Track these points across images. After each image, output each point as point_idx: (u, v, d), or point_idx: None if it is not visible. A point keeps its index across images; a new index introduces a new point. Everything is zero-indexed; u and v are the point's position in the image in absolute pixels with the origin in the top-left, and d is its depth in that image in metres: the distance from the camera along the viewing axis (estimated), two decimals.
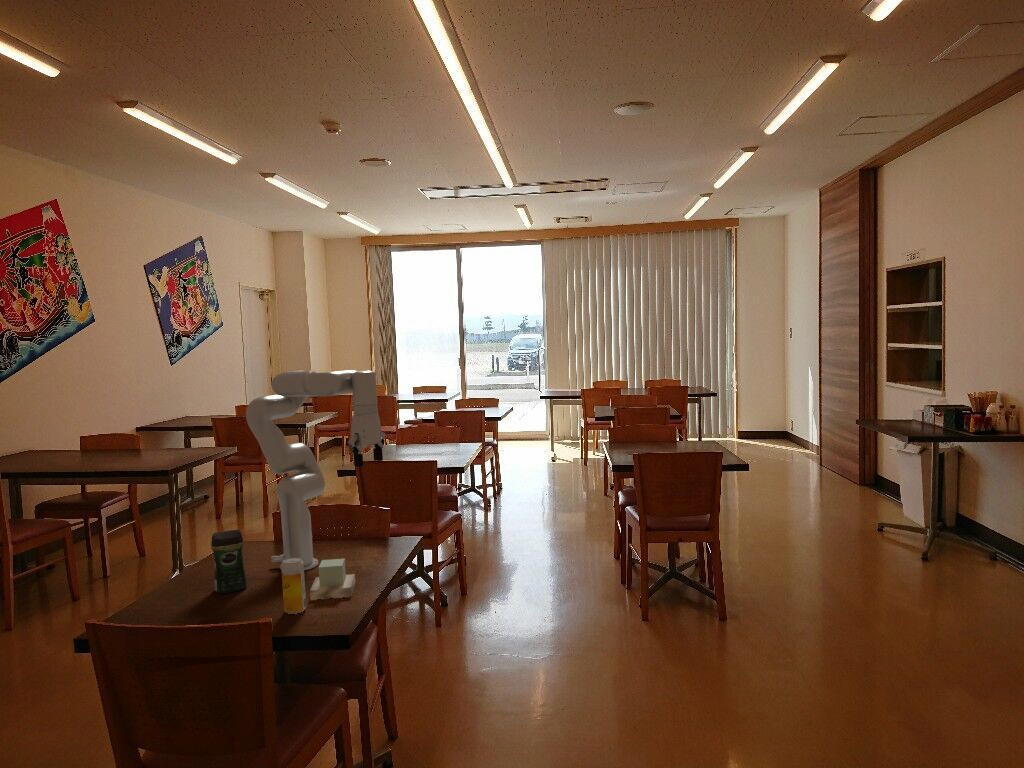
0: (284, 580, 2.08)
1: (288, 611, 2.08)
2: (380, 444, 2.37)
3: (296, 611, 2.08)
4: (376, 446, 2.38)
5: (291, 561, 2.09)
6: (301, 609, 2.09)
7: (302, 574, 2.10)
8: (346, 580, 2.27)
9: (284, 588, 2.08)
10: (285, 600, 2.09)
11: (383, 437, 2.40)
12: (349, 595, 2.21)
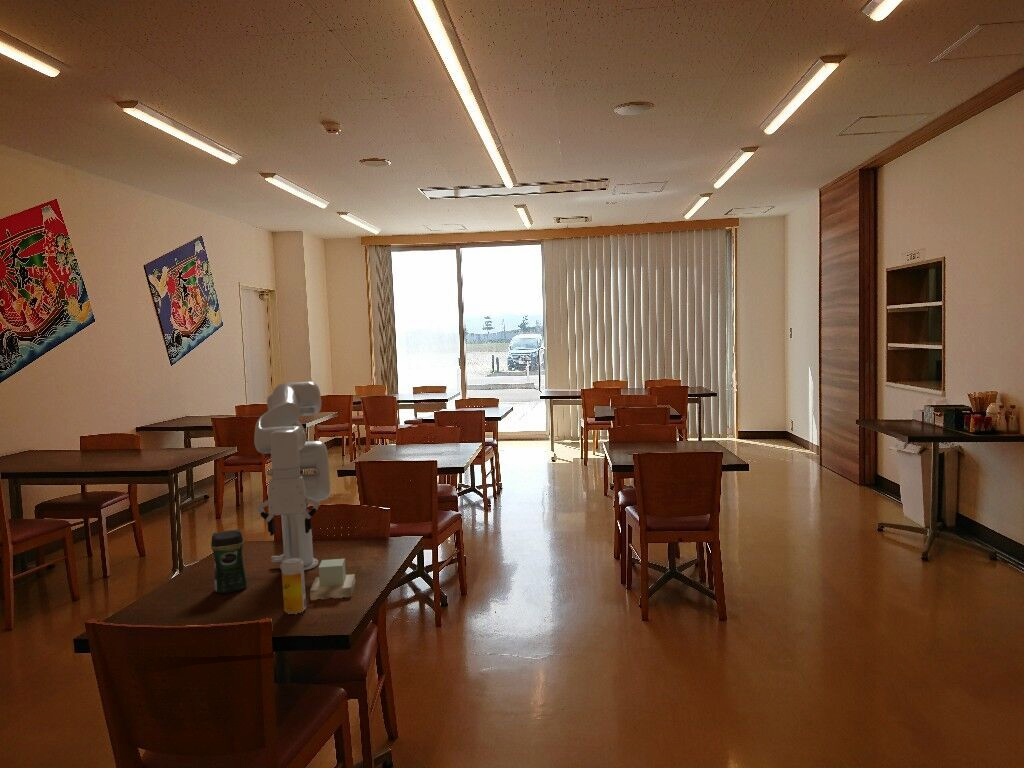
0: (284, 580, 2.08)
1: (288, 611, 2.08)
2: None
3: (296, 611, 2.08)
4: None
5: (291, 561, 2.09)
6: (301, 609, 2.09)
7: (302, 574, 2.10)
8: (346, 580, 2.27)
9: (284, 588, 2.08)
10: (285, 600, 2.09)
11: None
12: (349, 595, 2.21)
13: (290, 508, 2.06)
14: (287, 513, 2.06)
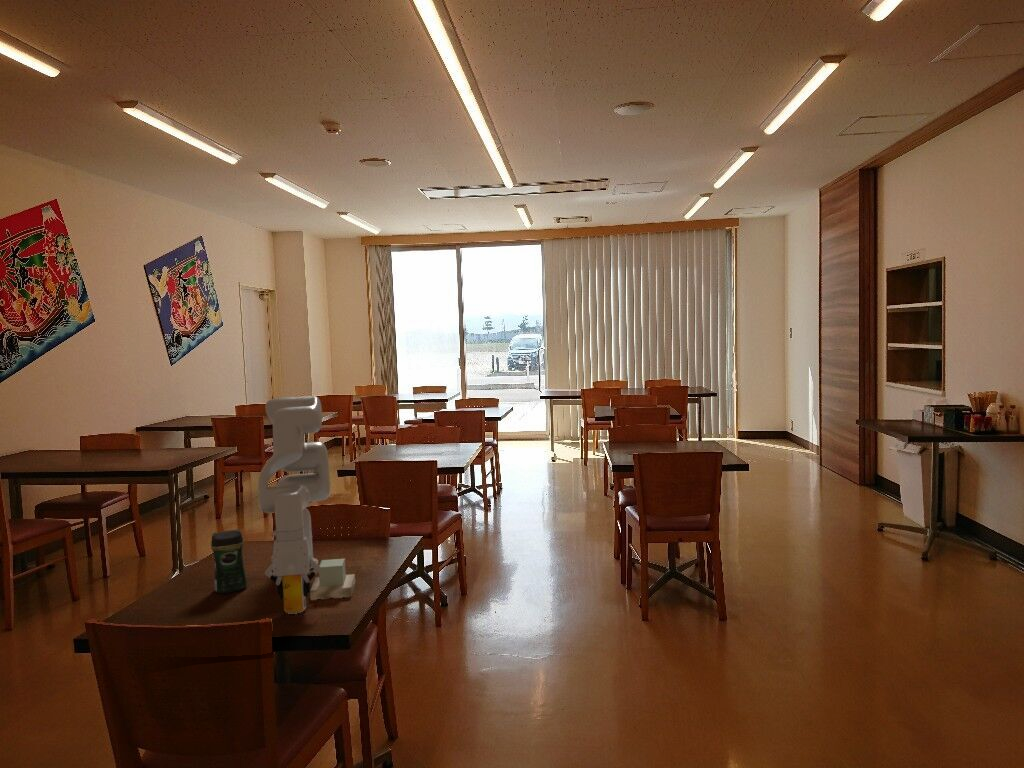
0: (284, 580, 2.08)
1: (288, 611, 2.08)
2: None
3: (296, 611, 2.08)
4: (280, 580, 2.10)
5: None
6: (301, 609, 2.09)
7: None
8: (346, 580, 2.27)
9: (284, 588, 2.08)
10: (285, 600, 2.09)
11: None
12: (349, 595, 2.21)
13: None
14: None
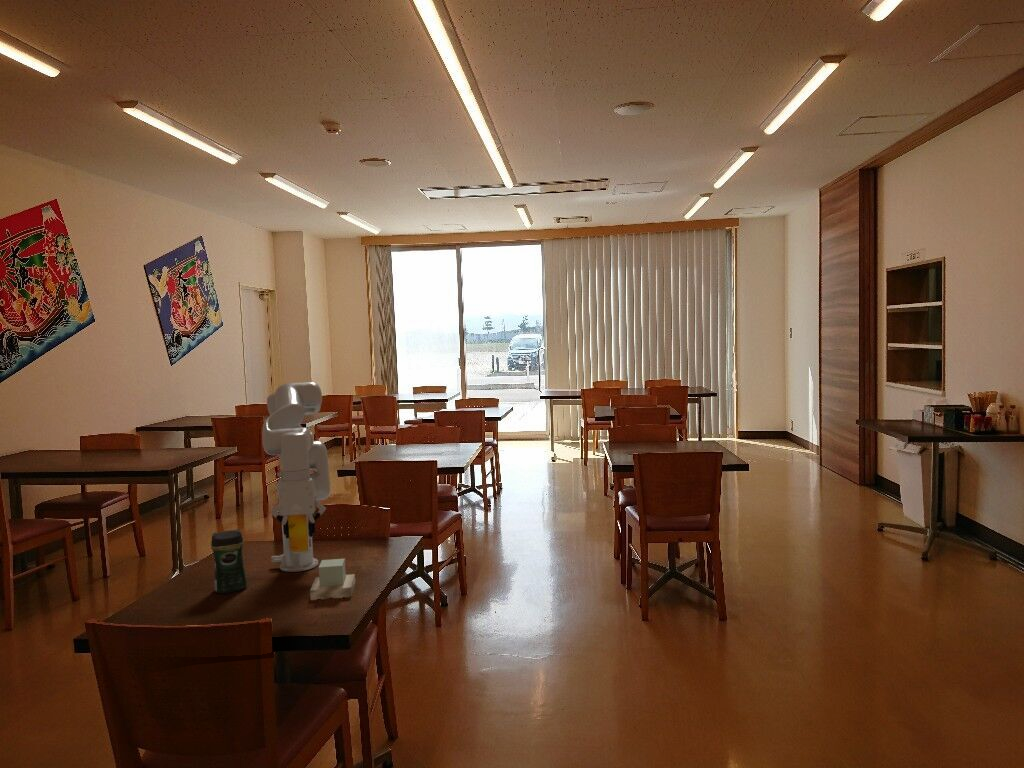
0: (290, 520, 2.10)
1: (293, 550, 2.11)
2: None
3: (301, 550, 2.11)
4: (286, 520, 2.12)
5: None
6: (306, 548, 2.12)
7: None
8: (346, 580, 2.27)
9: (290, 528, 2.11)
10: (290, 540, 2.11)
11: None
12: (349, 595, 2.21)
13: None
14: None
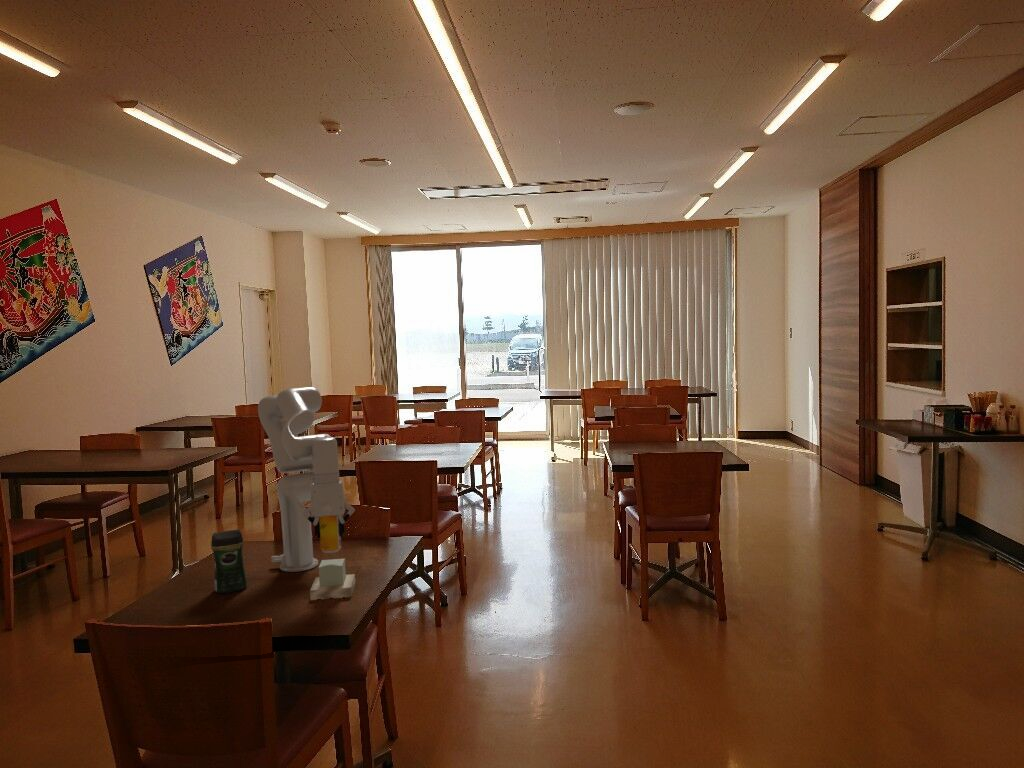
0: (321, 520, 2.22)
1: (325, 550, 2.22)
2: None
3: (332, 550, 2.22)
4: (317, 521, 2.23)
5: None
6: (337, 548, 2.23)
7: None
8: (346, 580, 2.27)
9: (321, 528, 2.22)
10: (322, 540, 2.22)
11: None
12: (349, 595, 2.21)
13: None
14: None
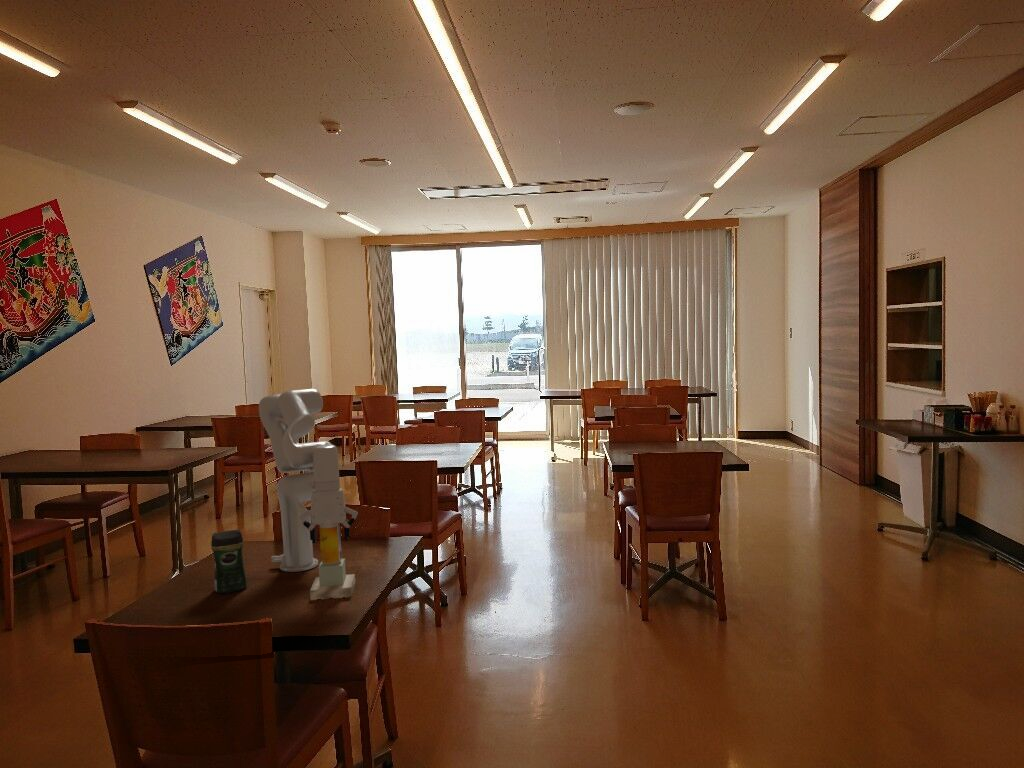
0: (321, 533, 2.22)
1: (325, 562, 2.23)
2: None
3: (333, 562, 2.23)
4: None
5: None
6: (337, 560, 2.23)
7: (338, 527, 2.24)
8: (346, 580, 2.27)
9: (321, 540, 2.23)
10: (322, 552, 2.23)
11: None
12: (349, 595, 2.21)
13: (331, 518, 2.22)
14: None
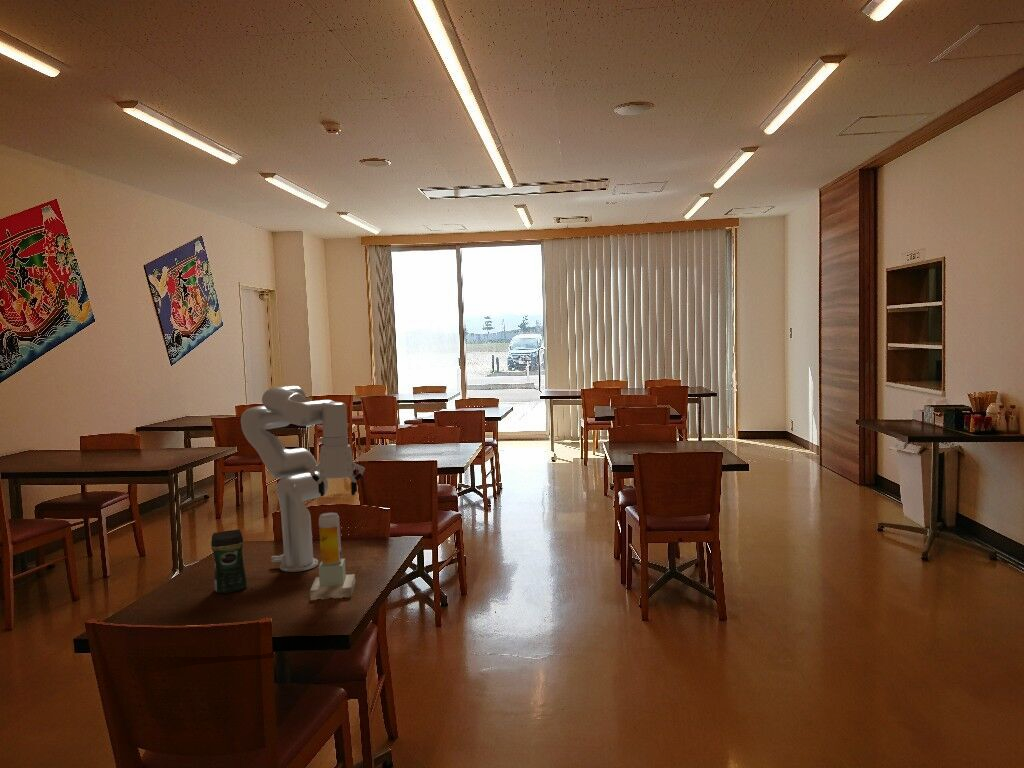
0: (321, 533, 2.22)
1: (325, 562, 2.23)
2: None
3: (333, 562, 2.23)
4: None
5: (328, 515, 2.24)
6: (337, 560, 2.23)
7: (338, 527, 2.24)
8: (346, 580, 2.27)
9: (321, 540, 2.23)
10: (322, 552, 2.23)
11: None
12: (349, 595, 2.21)
13: (338, 472, 2.30)
14: (336, 477, 2.30)
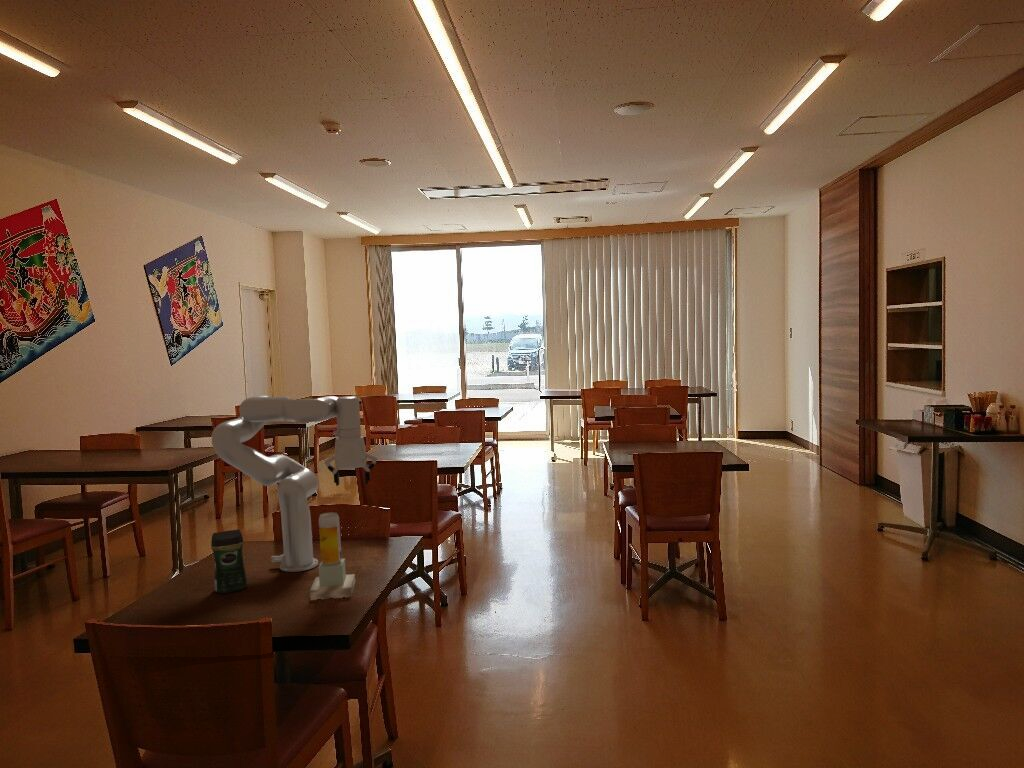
0: (321, 533, 2.22)
1: (325, 562, 2.23)
2: None
3: (333, 562, 2.23)
4: (336, 471, 2.46)
5: (328, 515, 2.24)
6: (337, 560, 2.23)
7: (338, 527, 2.24)
8: (346, 580, 2.27)
9: (321, 540, 2.23)
10: (322, 552, 2.23)
11: None
12: (349, 595, 2.21)
13: (353, 462, 2.44)
14: (350, 466, 2.44)
